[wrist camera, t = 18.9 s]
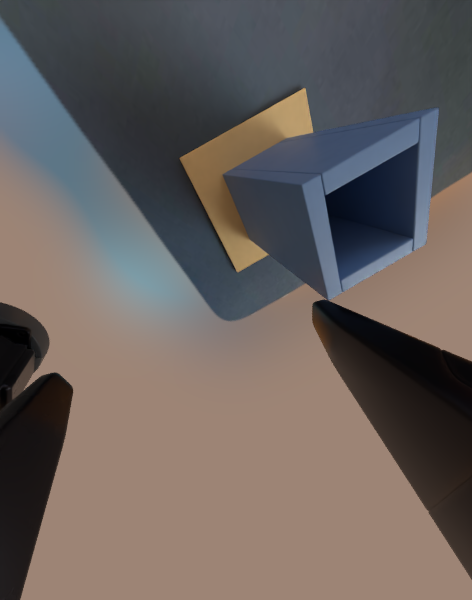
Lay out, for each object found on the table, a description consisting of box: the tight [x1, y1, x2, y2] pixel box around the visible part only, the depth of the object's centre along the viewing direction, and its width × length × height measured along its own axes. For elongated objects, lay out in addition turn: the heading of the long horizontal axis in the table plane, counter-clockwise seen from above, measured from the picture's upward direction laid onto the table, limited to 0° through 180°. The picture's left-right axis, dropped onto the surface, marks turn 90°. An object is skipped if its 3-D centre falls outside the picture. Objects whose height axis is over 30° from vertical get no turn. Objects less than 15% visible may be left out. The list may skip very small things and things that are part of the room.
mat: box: [180, 88, 313, 272], centre depth 19 cm, size 10×10×1 cm
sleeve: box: [223, 107, 439, 300], centre depth 14 cm, size 6×6×11 cm
